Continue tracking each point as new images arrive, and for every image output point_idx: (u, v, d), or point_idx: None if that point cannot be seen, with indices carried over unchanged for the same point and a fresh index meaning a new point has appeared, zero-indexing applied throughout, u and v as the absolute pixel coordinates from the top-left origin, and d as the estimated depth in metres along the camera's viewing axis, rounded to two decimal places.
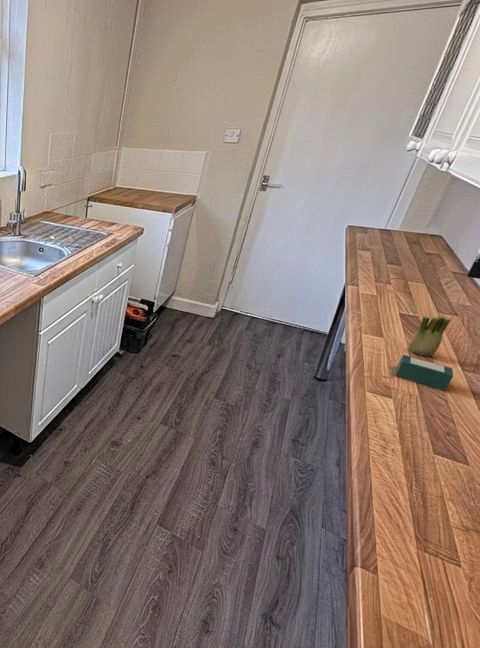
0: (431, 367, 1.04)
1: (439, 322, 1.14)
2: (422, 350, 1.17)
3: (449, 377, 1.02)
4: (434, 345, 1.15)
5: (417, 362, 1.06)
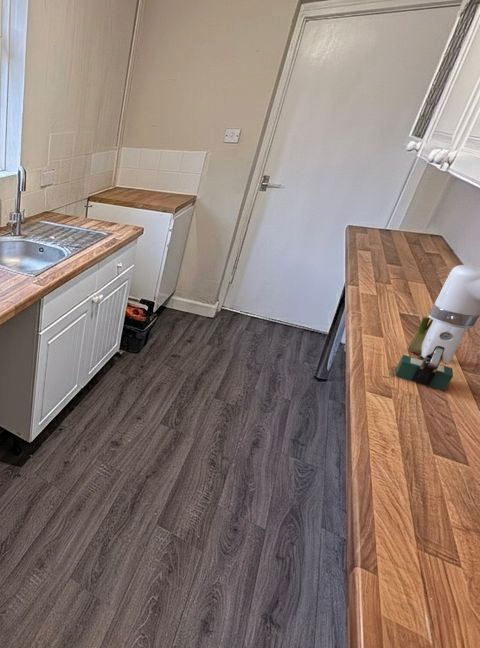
0: None
1: None
2: None
3: (449, 377, 1.02)
4: None
5: (417, 362, 1.06)
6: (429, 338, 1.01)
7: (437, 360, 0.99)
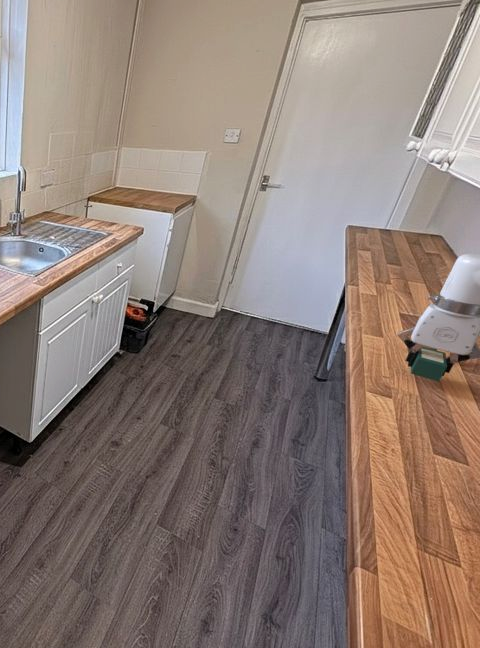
0: (425, 355, 1.05)
1: None
2: None
3: (416, 360, 1.04)
4: None
5: (428, 352, 1.06)
6: None
7: (403, 331, 1.07)
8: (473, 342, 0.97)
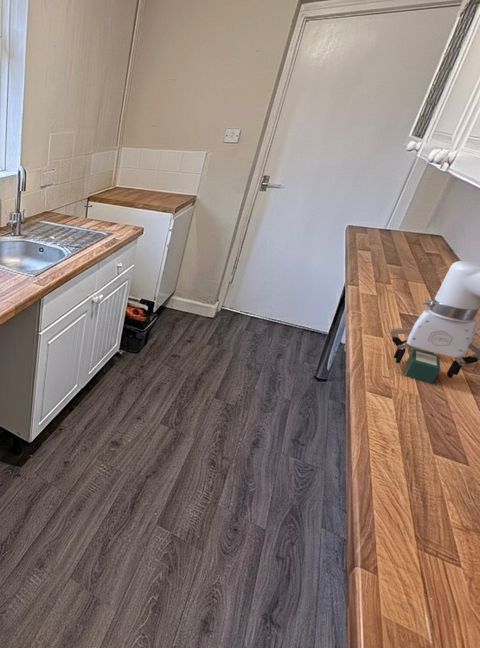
0: (419, 357, 1.09)
1: None
2: (422, 350, 1.17)
3: (411, 363, 1.08)
4: None
5: (422, 355, 1.10)
6: None
7: (397, 329, 1.10)
8: (467, 346, 1.01)
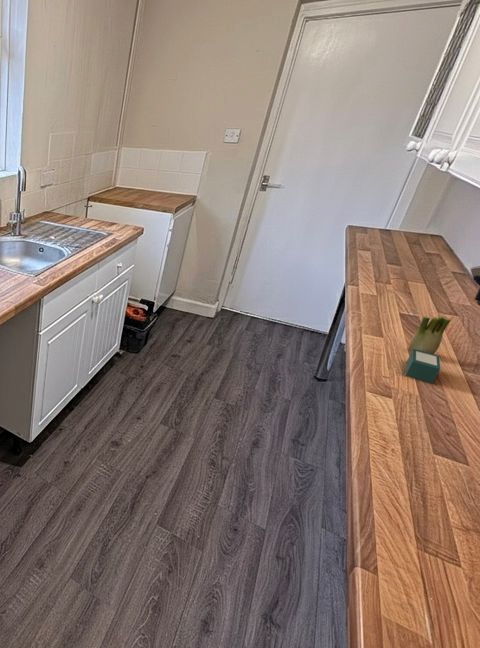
0: (419, 357, 1.09)
1: (439, 322, 1.14)
2: (422, 350, 1.17)
3: (411, 363, 1.08)
4: (434, 345, 1.15)
5: (422, 355, 1.10)
6: None
7: (479, 266, 0.98)
8: None
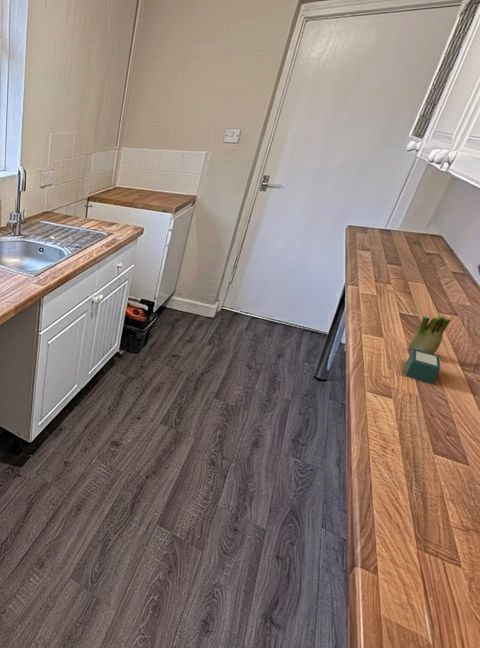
0: (419, 357, 1.09)
1: (439, 322, 1.14)
2: (422, 350, 1.17)
3: (411, 363, 1.08)
4: (434, 345, 1.15)
5: (422, 355, 1.10)
6: None
7: None
8: None
